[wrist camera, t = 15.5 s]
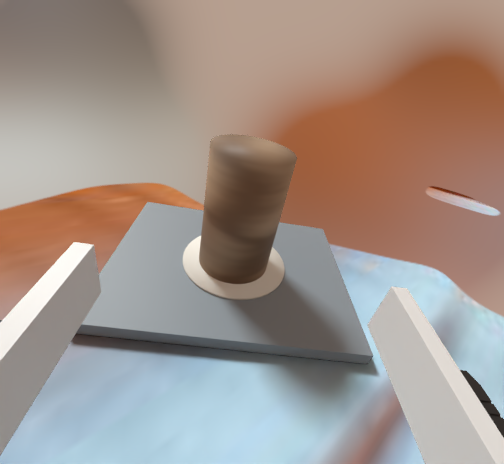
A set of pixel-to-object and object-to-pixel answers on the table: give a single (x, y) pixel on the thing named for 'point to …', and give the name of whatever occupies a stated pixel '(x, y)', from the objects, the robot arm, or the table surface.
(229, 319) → the seat board
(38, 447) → the table surface
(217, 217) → the brown cylinder
